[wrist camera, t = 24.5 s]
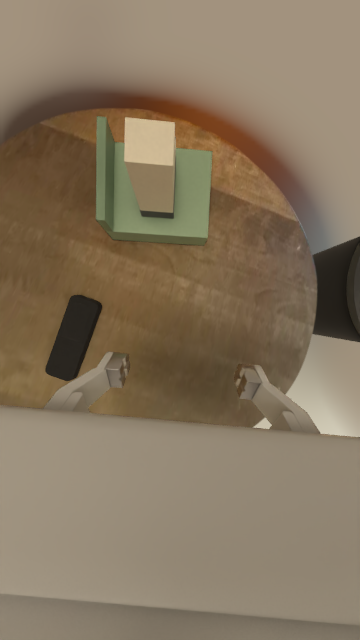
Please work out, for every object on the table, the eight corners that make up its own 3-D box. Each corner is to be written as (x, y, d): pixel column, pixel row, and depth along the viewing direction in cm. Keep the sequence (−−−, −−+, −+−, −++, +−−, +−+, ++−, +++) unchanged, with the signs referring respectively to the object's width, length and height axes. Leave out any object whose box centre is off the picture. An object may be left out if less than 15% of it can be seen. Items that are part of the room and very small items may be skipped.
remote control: (77, 378, 29) (103, 303, 27) (71, 383, 27) (98, 303, 26) (51, 369, 28) (76, 293, 27) (43, 374, 27) (69, 292, 25)
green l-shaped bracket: (208, 168, 27) (218, 128, 21) (204, 245, 28) (212, 228, 22) (114, 160, 26) (96, 115, 20) (112, 239, 27) (95, 219, 21)
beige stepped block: (173, 219, 24) (174, 165, 15) (141, 216, 24) (122, 161, 15) (176, 165, 24) (177, 77, 15) (143, 161, 24) (124, 70, 15)
